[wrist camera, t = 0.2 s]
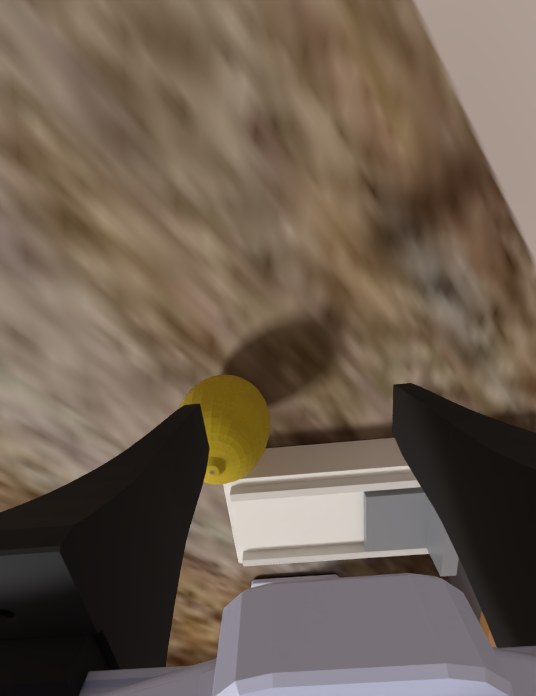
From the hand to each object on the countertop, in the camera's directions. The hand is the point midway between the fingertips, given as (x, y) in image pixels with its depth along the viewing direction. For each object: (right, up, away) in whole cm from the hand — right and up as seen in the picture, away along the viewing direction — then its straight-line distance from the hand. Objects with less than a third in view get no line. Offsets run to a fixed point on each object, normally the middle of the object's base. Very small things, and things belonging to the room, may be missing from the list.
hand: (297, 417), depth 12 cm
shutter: (+8, -9, +10) cm, 16 cm away
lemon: (-4, -1, +11) cm, 12 cm away
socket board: (+6, -8, +14) cm, 17 cm away
